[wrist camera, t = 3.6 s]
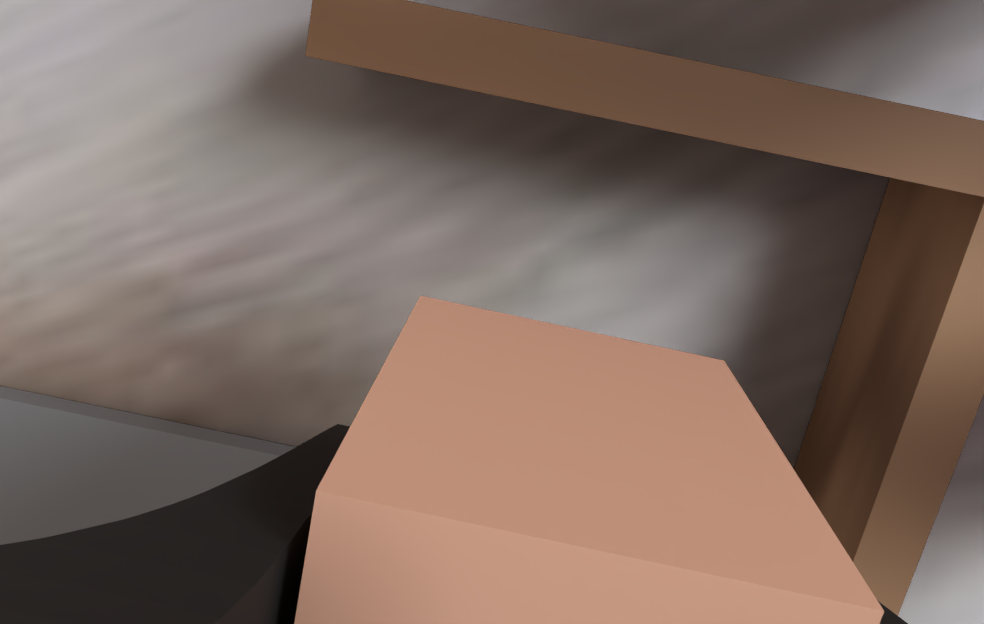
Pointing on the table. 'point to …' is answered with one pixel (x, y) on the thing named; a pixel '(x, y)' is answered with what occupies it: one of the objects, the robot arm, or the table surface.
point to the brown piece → (800, 134)
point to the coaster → (104, 464)
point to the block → (564, 490)
